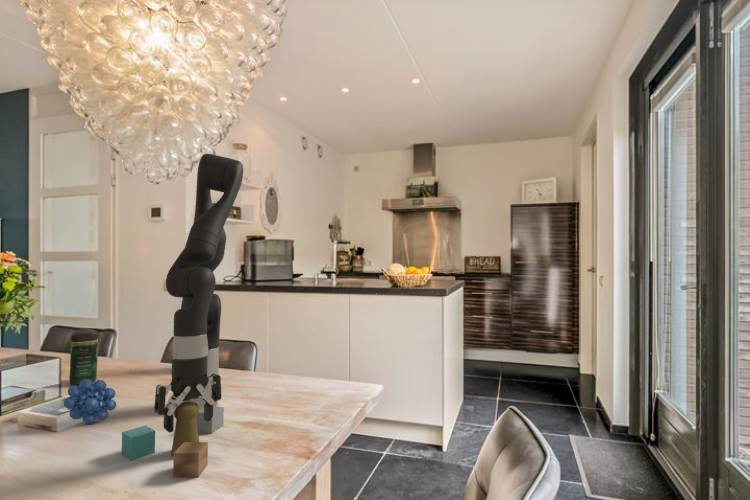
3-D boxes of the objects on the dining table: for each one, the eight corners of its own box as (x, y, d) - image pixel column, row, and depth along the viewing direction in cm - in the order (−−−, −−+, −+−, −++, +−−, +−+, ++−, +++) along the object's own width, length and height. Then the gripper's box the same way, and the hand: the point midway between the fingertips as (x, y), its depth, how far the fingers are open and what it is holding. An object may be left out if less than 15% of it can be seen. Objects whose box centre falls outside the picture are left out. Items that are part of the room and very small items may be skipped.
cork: (189, 459, 92) (190, 408, 92) (164, 456, 93) (165, 406, 93) (205, 447, 98) (206, 399, 98) (182, 444, 99) (183, 397, 99)
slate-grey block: (194, 431, 106) (194, 412, 107) (206, 424, 111) (207, 405, 111) (211, 434, 105) (212, 414, 105) (223, 426, 110) (223, 407, 110)
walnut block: (173, 478, 84) (173, 452, 84) (183, 465, 89) (184, 442, 89) (198, 477, 84) (198, 452, 84) (207, 465, 89) (207, 442, 89)
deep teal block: (121, 454, 94) (122, 432, 94) (144, 446, 98) (145, 425, 98) (131, 461, 91) (131, 438, 91) (154, 453, 95) (155, 430, 95)
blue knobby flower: (63, 434, 104) (64, 386, 104) (62, 425, 109) (63, 379, 109) (118, 423, 111) (119, 378, 111) (114, 415, 116) (115, 372, 117)
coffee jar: (96, 384, 145) (97, 330, 145) (68, 387, 141) (69, 332, 141) (97, 377, 153) (98, 326, 154) (71, 380, 149) (72, 328, 150)
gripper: (212, 347, 104) (211, 413, 103) (150, 356, 93) (149, 430, 93) (227, 351, 99) (226, 421, 98) (164, 362, 88) (162, 440, 88)
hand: (189, 425), depth 95 cm, fingers open, 8 cm apart
